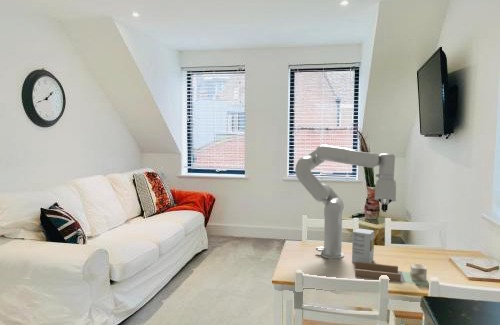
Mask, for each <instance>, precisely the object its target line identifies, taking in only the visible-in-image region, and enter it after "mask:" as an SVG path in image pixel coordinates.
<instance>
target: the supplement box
mask: <svg viewBox="0 0 500 325" xmlns="http://www.w3.org/2000/svg"><path fill="white" fill-rule="evenodd" d="M374 245H375V230H372V229H367V228H365V229H364V228H360V227H359V228H358V227H357V228H356V229H355V230H353V231H352V246H351V247H352V250H351V251H352V252H351V262H352V263H355V262H364V263H373V261H374V255H375V254H374V251H375V250H374V249H375V246H374Z"/></svg>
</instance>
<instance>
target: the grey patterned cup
mask: <svg viewBox="0 0 500 325" xmlns="http://www.w3.org/2000/svg"><path fill="white" fill-rule="evenodd" d="M427 270H428V269H427V267H426V264H422V263H421V264H420V263H419V264H418V263H410V271H409V272H410V276H411V279H412V281H420V282H426V279H427V273H428V272H427Z"/></svg>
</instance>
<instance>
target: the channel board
mask: <svg viewBox="0 0 500 325" xmlns="http://www.w3.org/2000/svg"><path fill="white" fill-rule="evenodd" d="M354 263H355V264H354V274H355V275H354V276H355V278H360V279H361V278H362V279H368V280H369V279H370V280H377V279H379V277H380V276H381V275H387V276H388V277H389V279H390V281H389V282H395V283H396V282H397V283H405V284H415V286H420V285H423V286H422V287H429V285H430V283H429V281H428V278H426V282H420V281H412V279H411V276H410V271H402V270H399V266H398V265H391V264H384V263H383V264H381V263H373V262H372V263H364V262H354Z"/></svg>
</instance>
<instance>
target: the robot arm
mask: <svg viewBox="0 0 500 325" xmlns="http://www.w3.org/2000/svg"><path fill="white" fill-rule="evenodd" d="M325 161H327V162H334V163H338V164H345V165H350V166H351V165H352V166H358V167H365V168H375V167H378V173H376V174H375V178H377V179H376V181H375V189H374V190H375V191H374V197H373V198H374V201H378V202H379V203H380V204H381V206H380V207H381V211H382V212H383V213H386V212H387V211H388V205H389V204H390V203H392V202H396V201H397V198H396V197H397V183H396V180H395V166H396V165H395V164H396V162H395V161H396V155H395V154H394V153H385V152H384V153H379V152H373V151H372V152H365V151H359V150H354V149H351V148H348V147H341V146H333V145H328V144H320V145H318V146H317V147H316V149H315V150H313V151H312V152H311V153H309V154H307V155H306V156H302V157H301V158H299V159H298V160H297V162H296V165H295V170H294V171H295V176H296V178H297V179H298V181H299V182H300V184H301V185H302V186H303V187H304V189H305V190H306V191H307V192H308V193H309V194H310V195H311V196H312V198H313V199H314V200H315V201H316V202H319V203H322V204H323V205H324V210H323V218H324V219H323V220H324V229H323V230H324V231H323V232H324V234H323V238H324V239H323V241H324V242H323V246H316V247H315V251H317V252H321V253H320V256H322V257H323V258H325V259H332V260H339V259H342V258H344V257H345V254H344V252H342V245H343V244H342V240H343V239H342V238H343V211H344V207H345V205H344V201H343V199H341V198H340V197H339V195H338V194H337V193H336V192H335V191H334V190H333V188H331V186H330V185H328V184H327V183H322V182H321V181H320V180H319V179H318V177H317V176H315V175H314V173H313V172H312V170H314V169H315V168H317V167H318V166H320V165H321V164H322V163H324V162H325ZM384 200H385V202H384Z"/></svg>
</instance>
